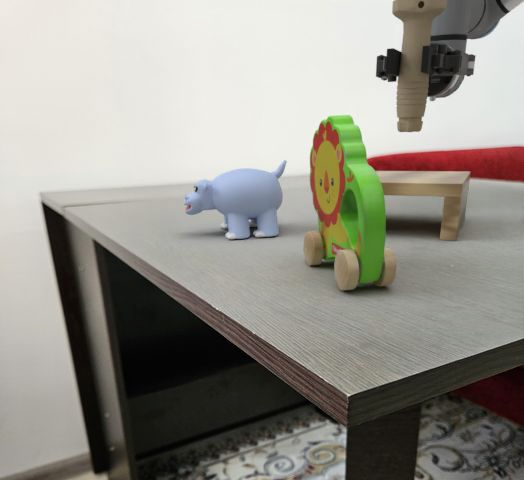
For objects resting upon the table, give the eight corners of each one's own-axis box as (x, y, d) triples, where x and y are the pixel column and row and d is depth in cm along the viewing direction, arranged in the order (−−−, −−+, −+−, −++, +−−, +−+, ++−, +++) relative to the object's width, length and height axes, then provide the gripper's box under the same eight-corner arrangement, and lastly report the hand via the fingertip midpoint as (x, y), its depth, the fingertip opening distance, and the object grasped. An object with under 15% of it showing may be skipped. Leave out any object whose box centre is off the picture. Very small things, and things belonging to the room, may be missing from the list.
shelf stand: (464, 220, 78) (470, 171, 75) (456, 240, 67) (462, 183, 64) (359, 216, 84) (361, 170, 81) (334, 234, 73) (335, 181, 70)
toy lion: (399, 291, 49) (412, 113, 43) (344, 297, 48) (349, 115, 42) (338, 252, 63) (342, 114, 57) (295, 256, 62) (294, 116, 56)
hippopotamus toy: (185, 228, 80) (179, 162, 76) (281, 221, 82) (280, 157, 78) (187, 243, 70) (180, 169, 66) (296, 235, 72) (295, 163, 68)
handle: (436, 131, 68) (449, -6, 62) (385, 133, 69) (394, -2, 63) (431, 130, 72) (443, 2, 66) (383, 131, 73) (391, 5, 67)
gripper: (486, 94, 80) (476, 91, 61) (378, 99, 87) (339, 97, 67) (493, 38, 77) (485, 16, 58) (381, 47, 84) (340, 30, 64)
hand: (407, 60), depth 63 cm, fingers closed on handle, 3 cm apart
